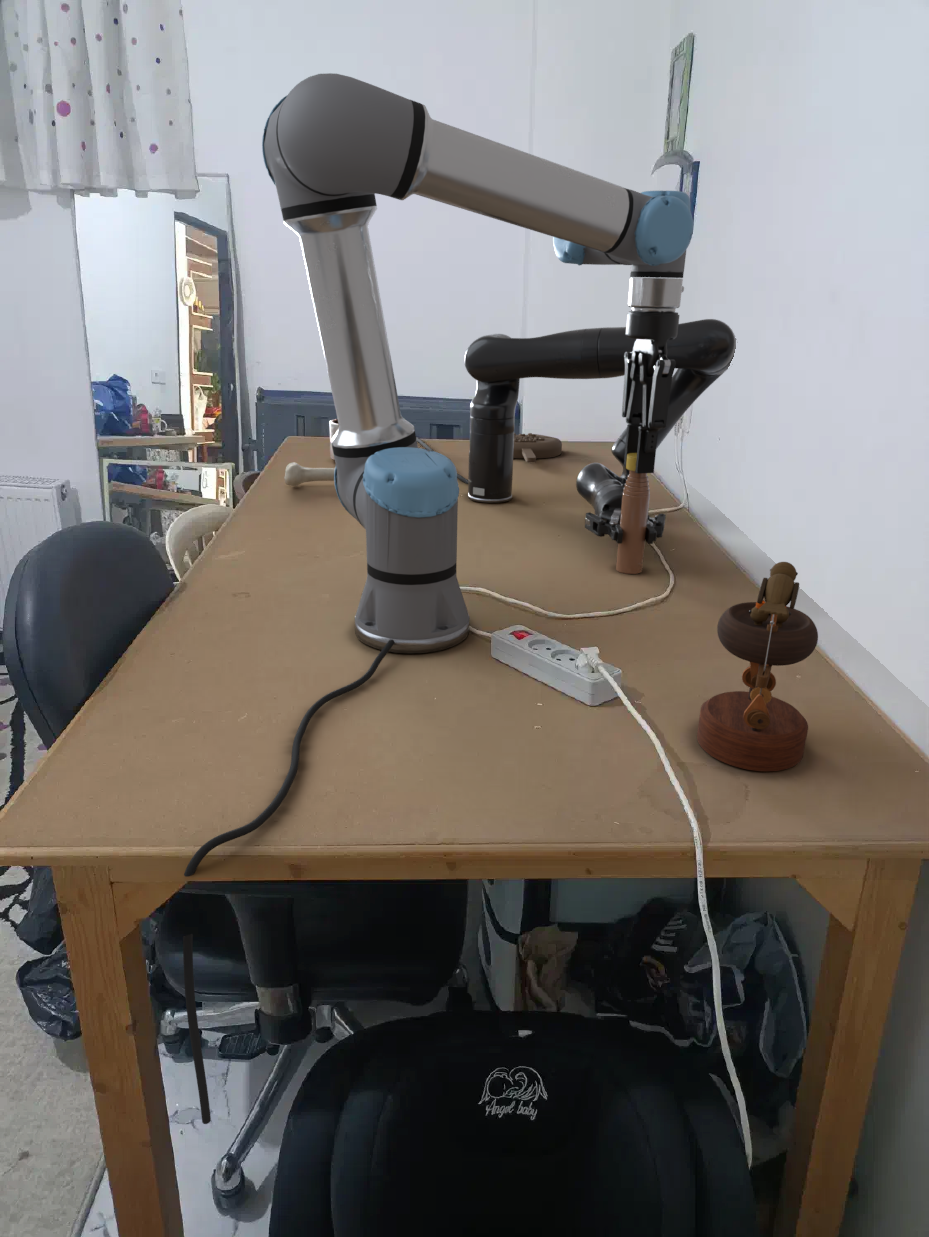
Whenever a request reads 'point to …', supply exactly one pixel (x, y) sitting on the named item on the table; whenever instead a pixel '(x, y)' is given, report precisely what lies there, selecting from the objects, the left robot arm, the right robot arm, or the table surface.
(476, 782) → the table surface
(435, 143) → the left robot arm
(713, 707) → the music box
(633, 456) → the cap
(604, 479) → the right robot arm
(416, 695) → the table surface
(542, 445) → the ice cream bar
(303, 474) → the dog toy
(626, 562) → the bottle
